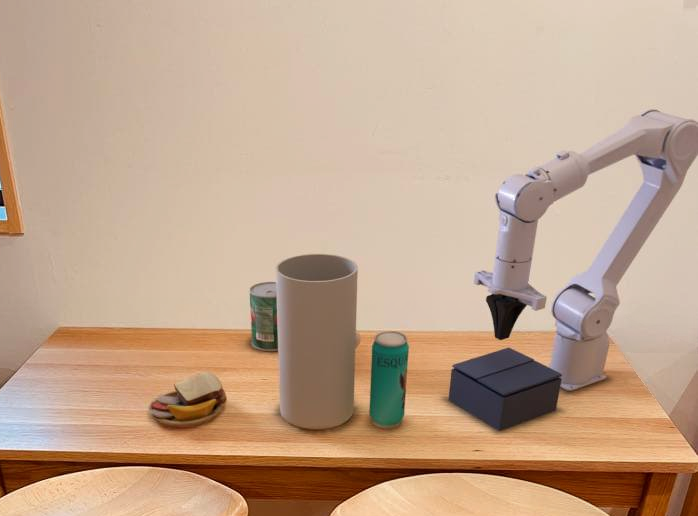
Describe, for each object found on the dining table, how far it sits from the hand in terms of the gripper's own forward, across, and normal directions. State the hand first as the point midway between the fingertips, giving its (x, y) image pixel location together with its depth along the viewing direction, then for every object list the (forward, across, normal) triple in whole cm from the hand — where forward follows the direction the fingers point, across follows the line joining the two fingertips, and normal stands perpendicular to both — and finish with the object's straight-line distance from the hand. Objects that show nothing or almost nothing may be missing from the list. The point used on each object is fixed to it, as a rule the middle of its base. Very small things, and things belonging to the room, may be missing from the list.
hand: (502, 337), depth 142 cm
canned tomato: (+11, -40, -22) cm, 47 cm away
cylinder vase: (+11, -11, -30) cm, 34 cm away
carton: (+10, +4, -2) cm, 11 cm away
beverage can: (+11, -2, -22) cm, 24 cm away
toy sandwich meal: (+11, -24, -48) cm, 55 cm away
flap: (+4, +1, -2) cm, 5 cm away
